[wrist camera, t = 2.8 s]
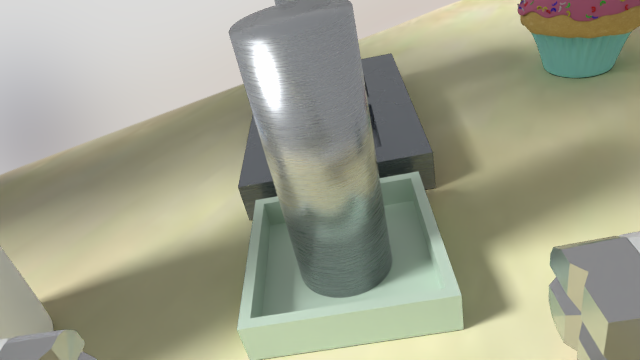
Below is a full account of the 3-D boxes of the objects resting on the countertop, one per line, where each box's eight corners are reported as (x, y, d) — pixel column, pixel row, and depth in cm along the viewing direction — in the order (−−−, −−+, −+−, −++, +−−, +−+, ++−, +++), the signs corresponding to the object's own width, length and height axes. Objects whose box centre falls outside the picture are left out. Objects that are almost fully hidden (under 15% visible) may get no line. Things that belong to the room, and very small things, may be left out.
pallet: (249, 220, 30) (238, 187, 29) (267, 105, 43) (259, 79, 42) (435, 187, 29) (432, 152, 28) (394, 80, 42) (391, 53, 41)
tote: (250, 360, 21) (237, 329, 20) (264, 228, 29) (255, 200, 28) (463, 329, 21) (461, 295, 20) (421, 201, 28) (418, 171, 27)
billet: (300, 304, 23) (220, 50, 16) (301, 240, 27) (236, 13, 20) (399, 289, 22) (357, 22, 16) (385, 226, 26) (347, -11, 20)
